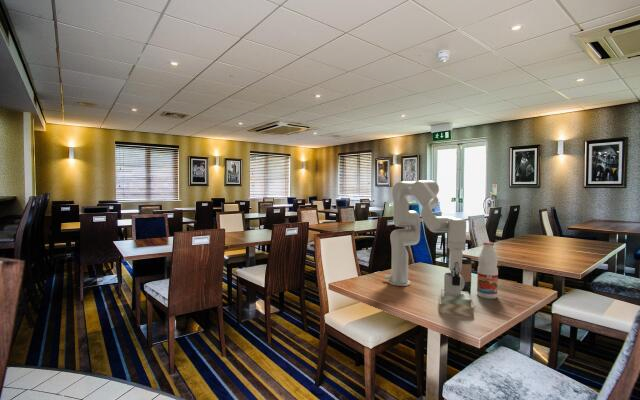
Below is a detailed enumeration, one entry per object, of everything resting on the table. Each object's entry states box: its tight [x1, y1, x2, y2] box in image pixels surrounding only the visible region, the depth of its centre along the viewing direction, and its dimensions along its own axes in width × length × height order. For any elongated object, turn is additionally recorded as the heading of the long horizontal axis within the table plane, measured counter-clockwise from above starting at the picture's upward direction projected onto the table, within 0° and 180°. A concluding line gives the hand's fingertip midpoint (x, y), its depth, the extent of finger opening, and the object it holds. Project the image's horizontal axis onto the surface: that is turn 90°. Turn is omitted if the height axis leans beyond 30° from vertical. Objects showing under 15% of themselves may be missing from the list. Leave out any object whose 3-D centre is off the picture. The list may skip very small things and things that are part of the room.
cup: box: [443, 272, 465, 296], centre depth 151 cm, size 7×10×9 cm
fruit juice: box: [476, 241, 499, 300], centre depth 169 cm, size 9×9×28 cm
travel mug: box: [460, 256, 473, 296], centre depth 168 cm, size 8×8×20 cm
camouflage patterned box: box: [438, 288, 475, 318], centre depth 150 cm, size 14×14×7 cm
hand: (455, 282), depth 150 cm, fingers open, 9 cm apart
